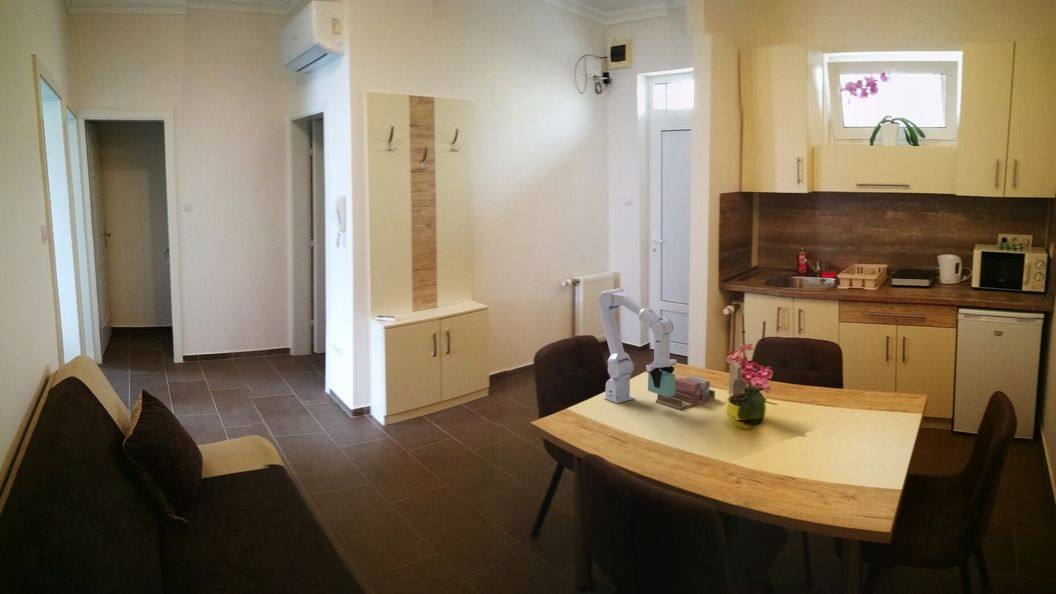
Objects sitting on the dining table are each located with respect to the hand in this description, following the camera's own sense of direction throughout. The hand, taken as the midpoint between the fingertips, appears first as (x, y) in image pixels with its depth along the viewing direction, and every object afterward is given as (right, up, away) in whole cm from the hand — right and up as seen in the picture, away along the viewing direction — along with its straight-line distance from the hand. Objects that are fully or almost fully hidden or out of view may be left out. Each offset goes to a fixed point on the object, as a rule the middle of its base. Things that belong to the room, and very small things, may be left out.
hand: (661, 386), depth 270 cm
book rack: (+12, -7, +11) cm, 18 cm away
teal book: (0, -3, 0) cm, 3 cm away
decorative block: (+28, -10, -6) cm, 30 cm away
